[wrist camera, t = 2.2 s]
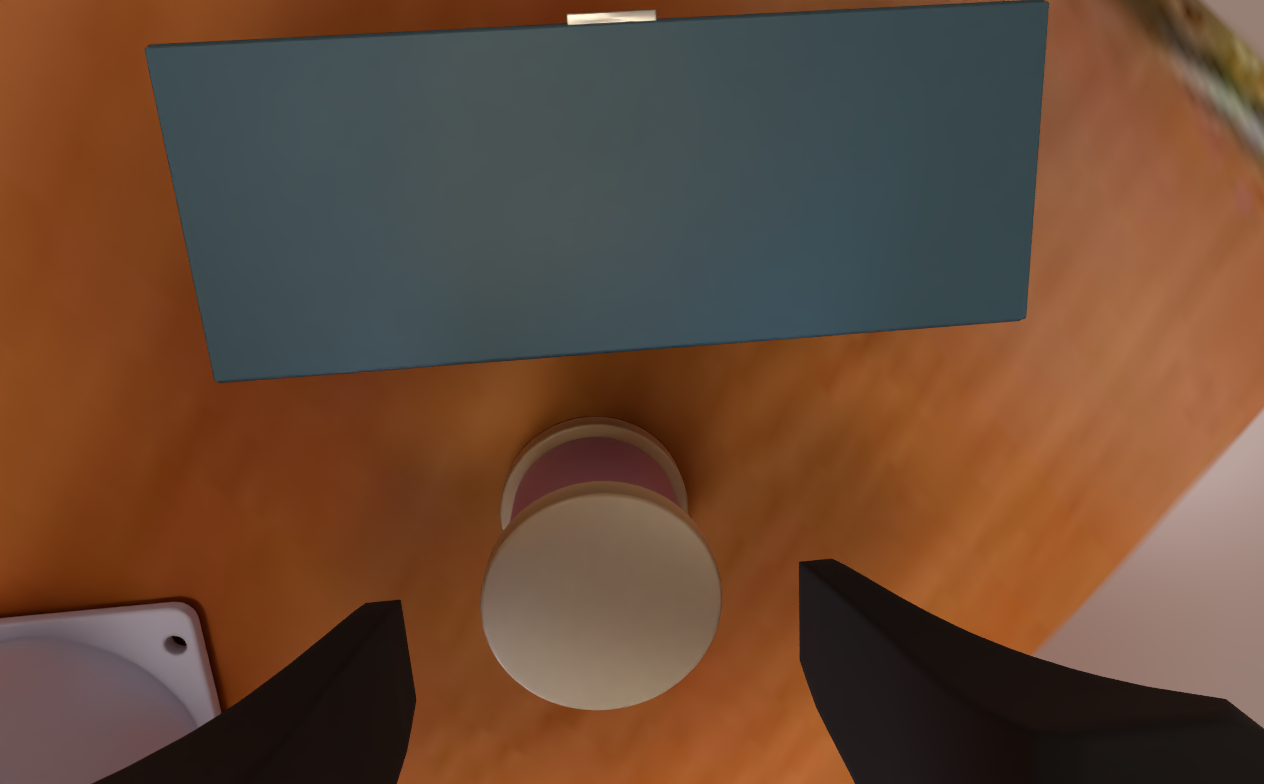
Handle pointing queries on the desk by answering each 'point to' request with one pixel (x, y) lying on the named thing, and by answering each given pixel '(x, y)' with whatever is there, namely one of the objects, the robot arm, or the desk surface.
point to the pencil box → (603, 183)
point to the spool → (598, 569)
